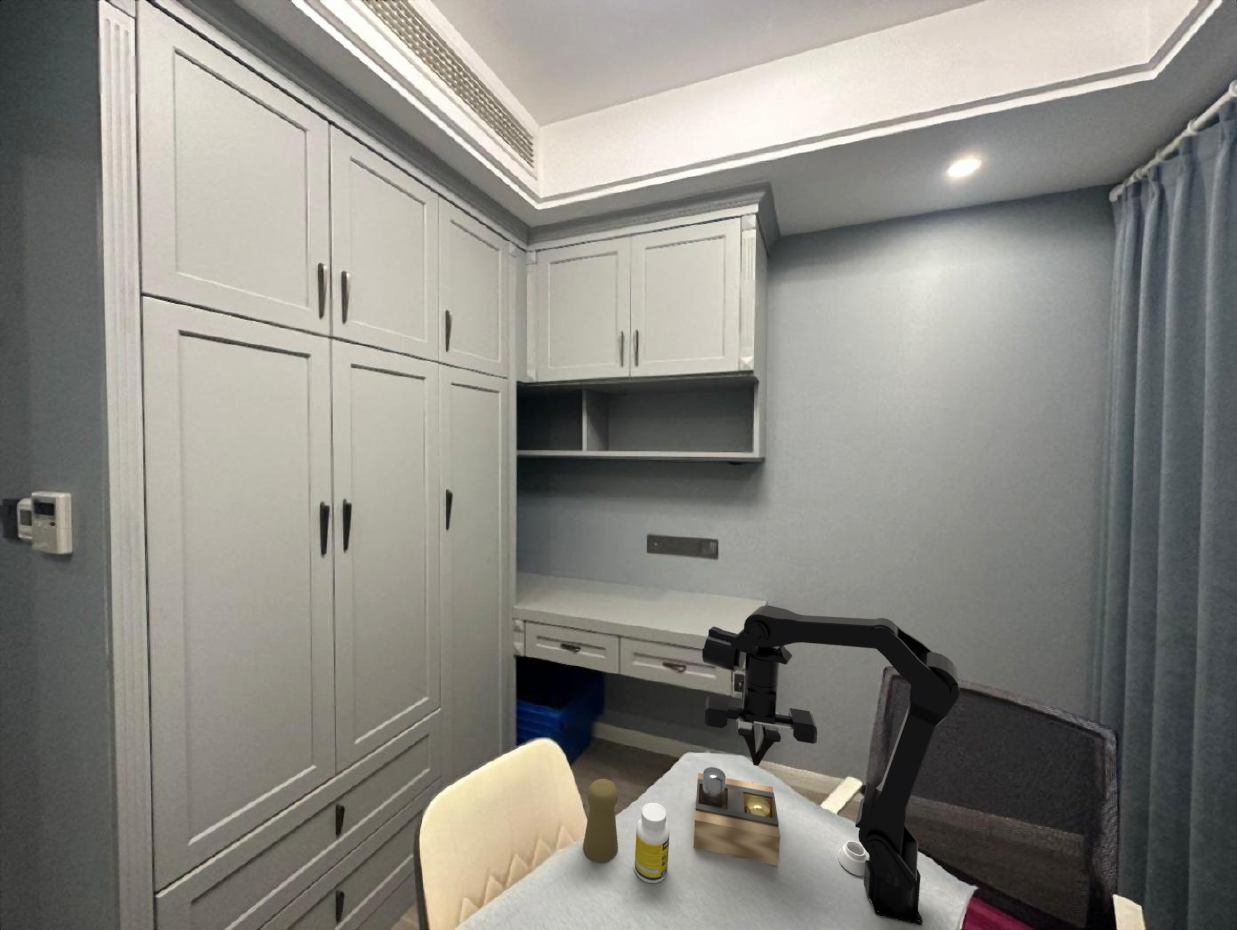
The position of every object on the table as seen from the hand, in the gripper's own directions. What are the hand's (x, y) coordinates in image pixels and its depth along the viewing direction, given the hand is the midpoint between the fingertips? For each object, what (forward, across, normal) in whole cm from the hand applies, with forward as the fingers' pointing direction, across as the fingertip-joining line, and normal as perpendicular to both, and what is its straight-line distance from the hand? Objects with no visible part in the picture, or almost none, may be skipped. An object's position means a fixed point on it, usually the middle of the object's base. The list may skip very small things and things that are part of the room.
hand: (755, 764), depth 85 cm
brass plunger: (+13, -1, 0) cm, 13 cm away
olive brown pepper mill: (+13, +26, +10) cm, 30 cm away
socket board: (+13, +3, 0) cm, 13 cm away
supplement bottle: (+13, +16, +12) cm, 24 cm away
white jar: (+13, -17, +2) cm, 21 cm away
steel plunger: (+9, +7, 0) cm, 11 cm away
